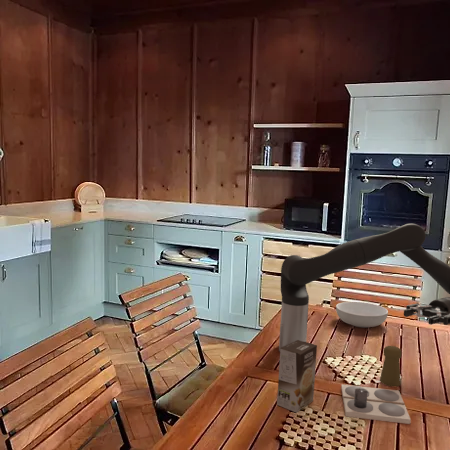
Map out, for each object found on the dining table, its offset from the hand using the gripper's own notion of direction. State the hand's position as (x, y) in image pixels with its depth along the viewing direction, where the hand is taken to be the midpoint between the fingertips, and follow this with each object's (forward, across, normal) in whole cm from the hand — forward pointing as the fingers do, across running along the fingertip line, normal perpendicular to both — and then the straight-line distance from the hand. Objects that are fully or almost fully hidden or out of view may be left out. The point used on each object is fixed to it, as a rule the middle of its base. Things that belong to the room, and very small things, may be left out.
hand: (417, 317), depth 148 cm
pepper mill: (+11, 0, +19) cm, 22 cm away
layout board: (+28, +6, +18) cm, 34 cm away
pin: (+33, +6, +17) cm, 38 cm away
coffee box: (+45, -6, +18) cm, 49 cm away
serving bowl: (-25, -40, +19) cm, 51 cm away
